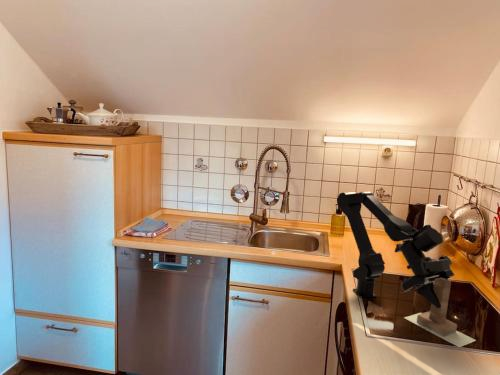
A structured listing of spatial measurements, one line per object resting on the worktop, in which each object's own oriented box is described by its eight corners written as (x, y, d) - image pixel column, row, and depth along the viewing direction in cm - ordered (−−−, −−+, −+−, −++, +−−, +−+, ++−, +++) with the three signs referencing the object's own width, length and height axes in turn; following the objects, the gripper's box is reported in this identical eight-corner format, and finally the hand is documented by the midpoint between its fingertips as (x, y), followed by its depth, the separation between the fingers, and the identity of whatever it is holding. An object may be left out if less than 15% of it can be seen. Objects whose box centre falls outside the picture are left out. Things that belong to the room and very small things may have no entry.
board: (403, 321, 121) (403, 317, 121) (420, 316, 125) (420, 312, 125) (458, 351, 106) (459, 347, 106) (475, 344, 110) (476, 340, 110)
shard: (368, 304, 133) (368, 299, 133) (391, 309, 130) (392, 304, 130) (365, 317, 123) (366, 312, 122) (391, 323, 120) (391, 318, 120)
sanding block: (416, 322, 118) (423, 276, 116) (428, 318, 121) (435, 273, 119) (443, 336, 111) (451, 287, 108) (456, 332, 114) (463, 284, 112)
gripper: (415, 250, 111) (445, 302, 103) (453, 244, 120) (483, 291, 113) (389, 266, 119) (415, 316, 111) (427, 259, 128) (453, 304, 121)
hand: (443, 306), depth 114 cm, fingers closed on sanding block, 3 cm apart
